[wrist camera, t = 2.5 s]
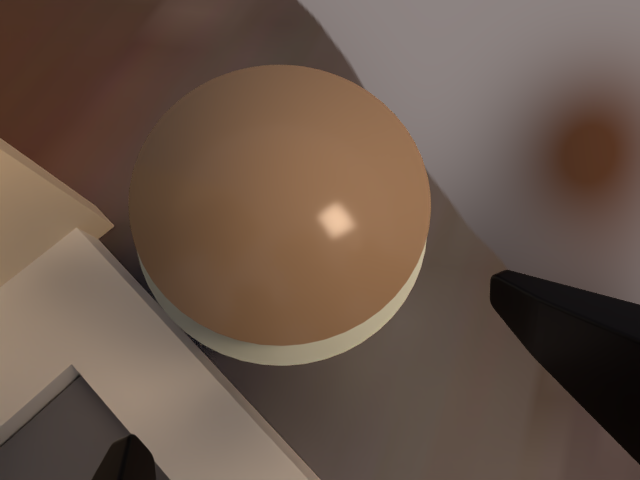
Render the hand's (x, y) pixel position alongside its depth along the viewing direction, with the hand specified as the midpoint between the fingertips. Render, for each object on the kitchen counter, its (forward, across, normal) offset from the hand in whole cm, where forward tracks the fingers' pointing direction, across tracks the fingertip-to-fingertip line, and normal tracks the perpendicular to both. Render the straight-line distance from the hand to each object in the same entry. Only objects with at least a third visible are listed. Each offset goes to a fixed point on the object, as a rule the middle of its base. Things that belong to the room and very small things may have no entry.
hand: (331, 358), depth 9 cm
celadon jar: (+9, 0, +5) cm, 10 cm away
